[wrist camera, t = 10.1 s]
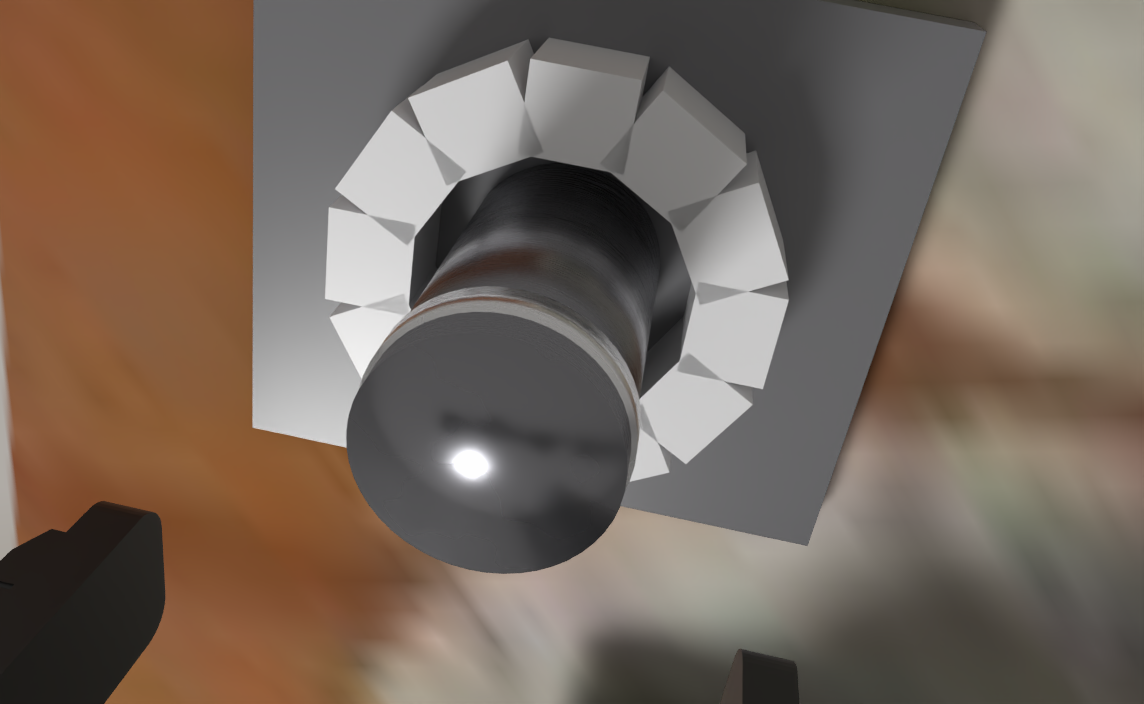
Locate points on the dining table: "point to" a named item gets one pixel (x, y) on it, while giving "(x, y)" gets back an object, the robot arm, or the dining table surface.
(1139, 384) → the dining table surface
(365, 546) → the dining table surface
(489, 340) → the lens
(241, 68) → the dining table surface
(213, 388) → the dining table surface
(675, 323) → the mount
